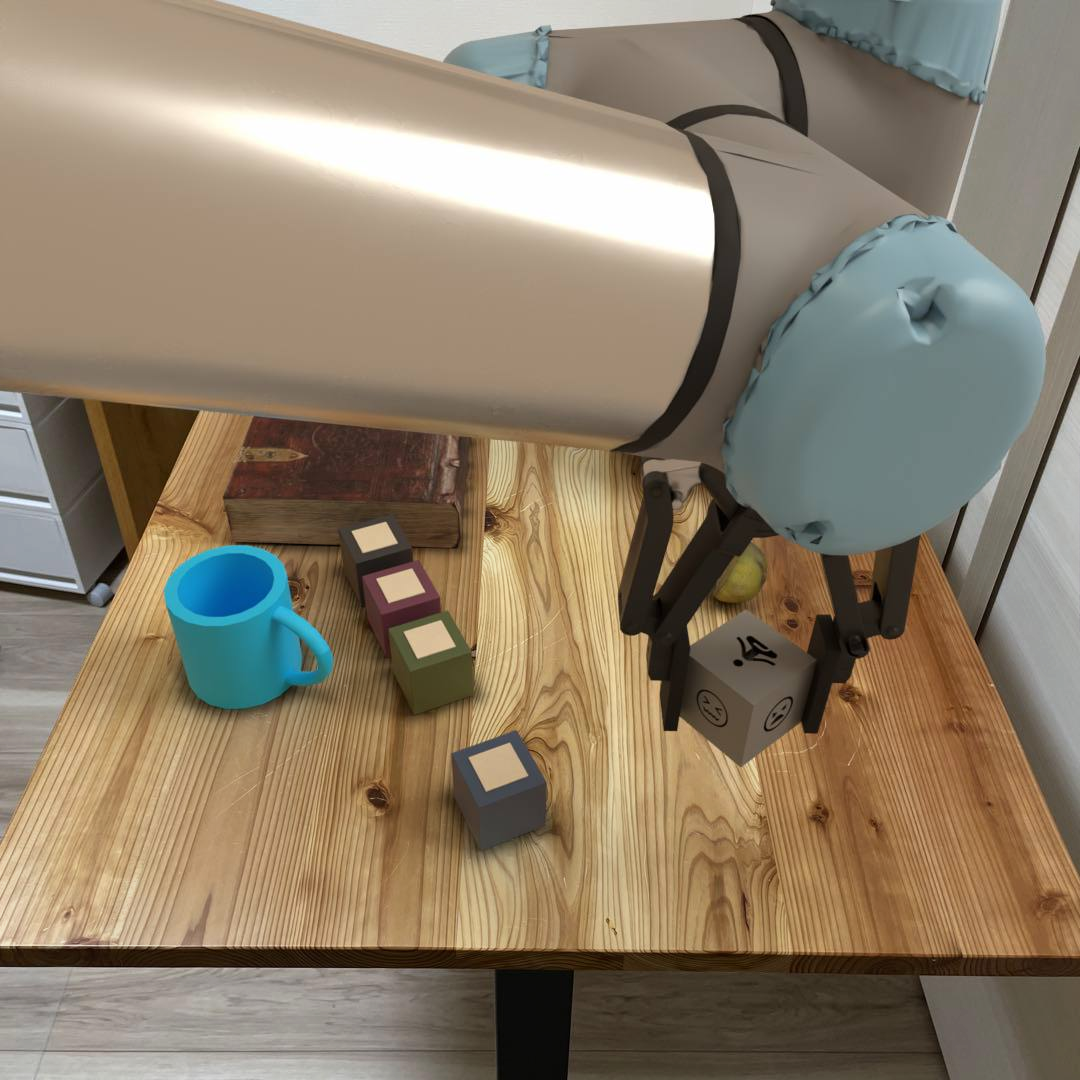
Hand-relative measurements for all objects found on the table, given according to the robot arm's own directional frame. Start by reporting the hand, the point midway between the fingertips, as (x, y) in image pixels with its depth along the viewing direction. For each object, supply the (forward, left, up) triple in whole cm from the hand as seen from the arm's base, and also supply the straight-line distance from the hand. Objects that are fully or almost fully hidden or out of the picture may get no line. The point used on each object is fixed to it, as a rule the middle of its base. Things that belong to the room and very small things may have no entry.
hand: (737, 713), depth 60 cm
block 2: (-12, +25, -12) cm, 30 cm away
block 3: (-12, +19, -12) cm, 25 cm away
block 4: (-12, +7, -12) cm, 18 cm away
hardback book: (-6, +49, -12) cm, 51 cm away
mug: (-22, +25, -12) cm, 35 cm away
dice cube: (0, 0, 0) cm, 0 cm away
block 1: (-12, +31, -12) cm, 35 cm away
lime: (+13, +18, -12) cm, 26 cm away
